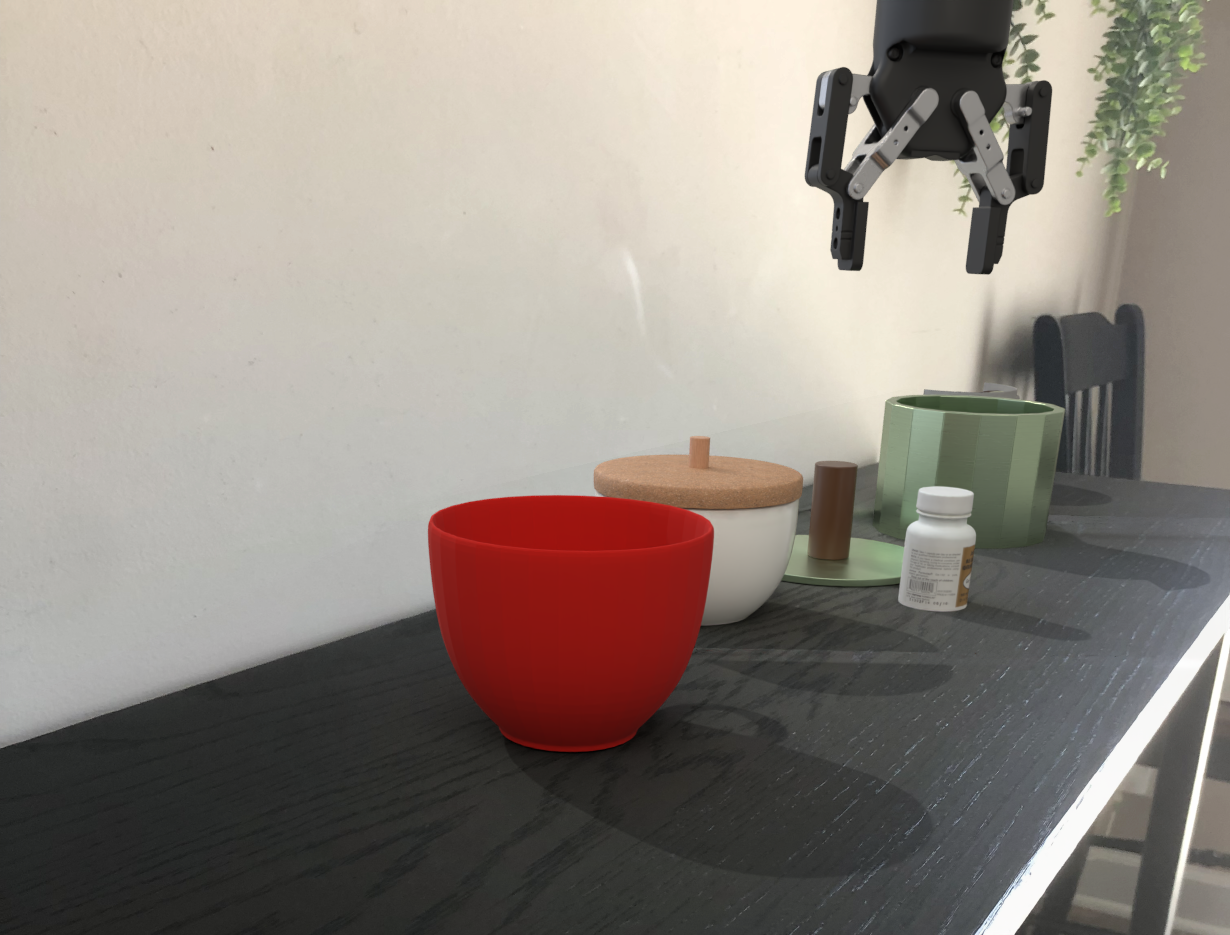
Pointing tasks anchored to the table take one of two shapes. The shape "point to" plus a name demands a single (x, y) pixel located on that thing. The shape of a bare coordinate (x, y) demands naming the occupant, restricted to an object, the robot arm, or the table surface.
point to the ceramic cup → (569, 611)
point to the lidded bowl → (721, 516)
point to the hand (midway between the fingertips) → (915, 272)
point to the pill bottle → (938, 551)
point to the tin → (970, 463)
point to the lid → (839, 538)
